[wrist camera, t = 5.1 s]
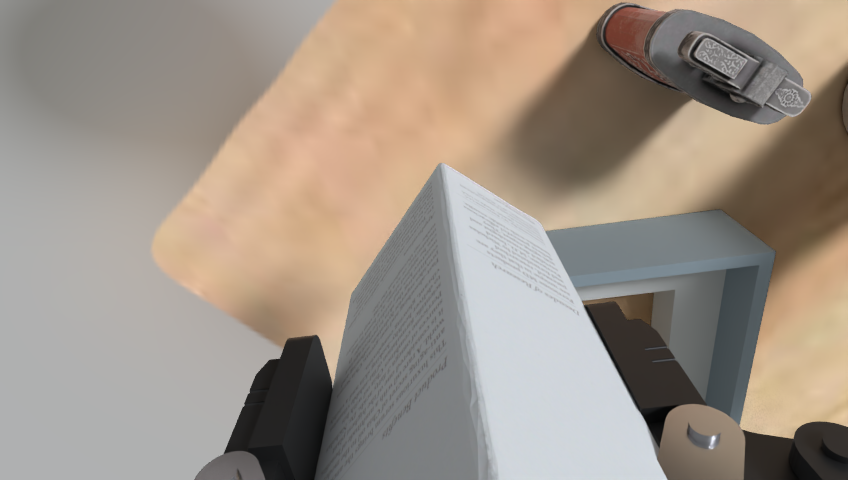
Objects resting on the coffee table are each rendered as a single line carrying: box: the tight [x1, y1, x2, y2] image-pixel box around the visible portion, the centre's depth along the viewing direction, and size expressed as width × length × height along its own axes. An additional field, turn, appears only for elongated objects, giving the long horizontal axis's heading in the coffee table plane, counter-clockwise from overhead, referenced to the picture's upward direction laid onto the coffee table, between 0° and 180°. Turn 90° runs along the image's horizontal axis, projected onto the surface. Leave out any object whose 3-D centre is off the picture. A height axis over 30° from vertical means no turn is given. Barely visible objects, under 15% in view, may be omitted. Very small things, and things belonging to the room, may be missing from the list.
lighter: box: [596, 3, 811, 124], centre depth 25 cm, size 8×3×10 cm, turn 65°
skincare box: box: [314, 163, 667, 480], centre depth 12 cm, size 6×4×12 cm
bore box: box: [545, 209, 776, 425], centre depth 36 cm, size 18×18×6 cm
